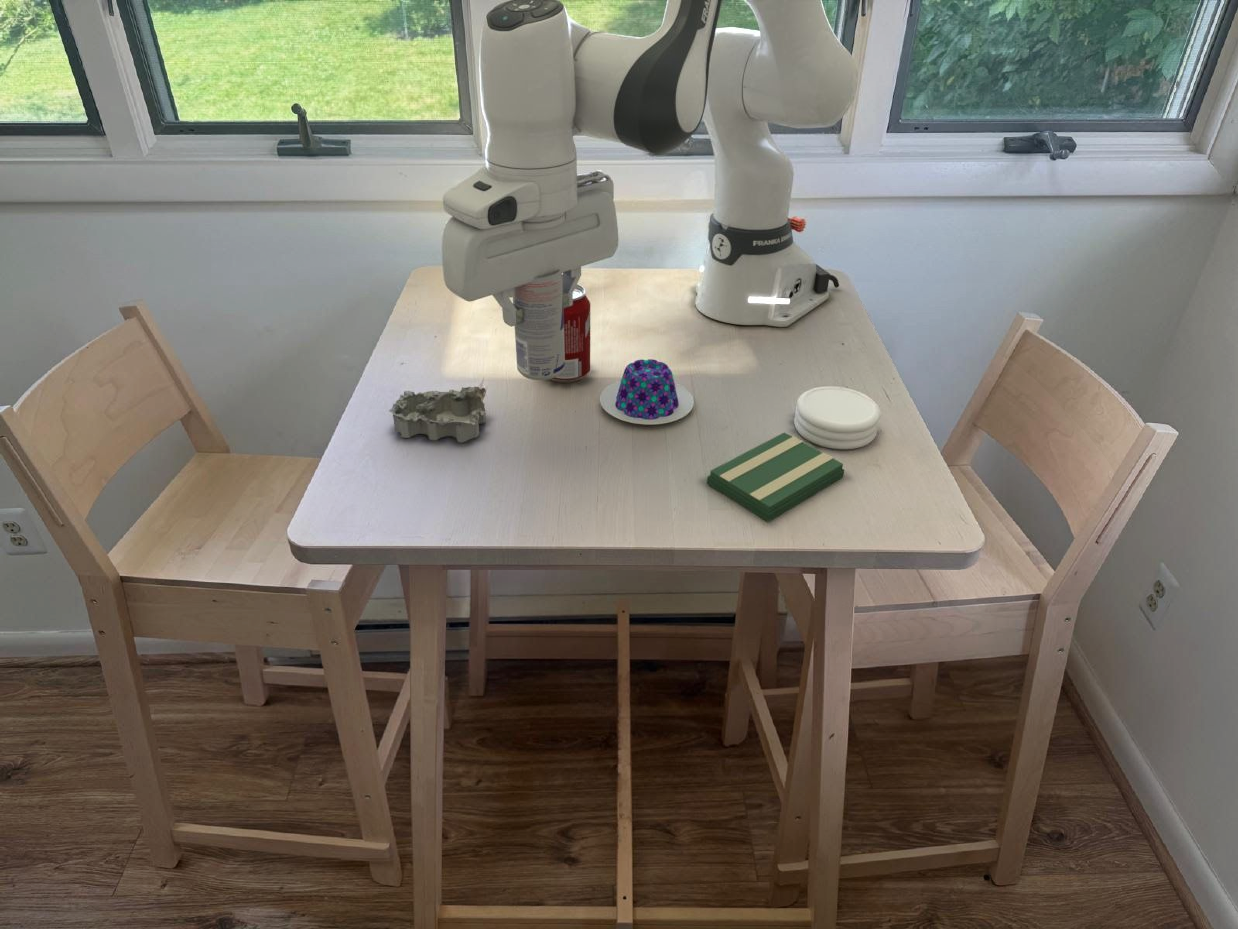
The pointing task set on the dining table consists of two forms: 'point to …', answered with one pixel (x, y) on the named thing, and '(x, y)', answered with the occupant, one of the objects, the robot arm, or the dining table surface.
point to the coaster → (837, 417)
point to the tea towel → (775, 476)
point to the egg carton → (440, 413)
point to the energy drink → (540, 328)
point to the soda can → (576, 338)
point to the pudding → (647, 395)
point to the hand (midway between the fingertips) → (538, 314)
